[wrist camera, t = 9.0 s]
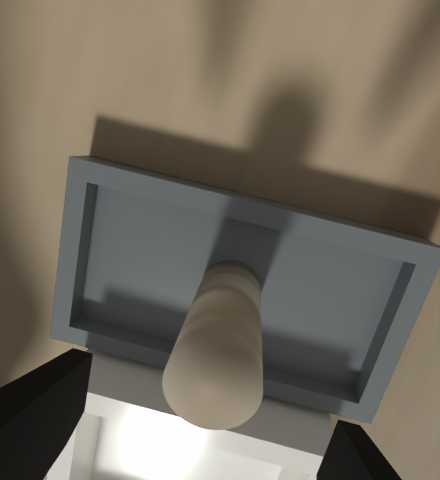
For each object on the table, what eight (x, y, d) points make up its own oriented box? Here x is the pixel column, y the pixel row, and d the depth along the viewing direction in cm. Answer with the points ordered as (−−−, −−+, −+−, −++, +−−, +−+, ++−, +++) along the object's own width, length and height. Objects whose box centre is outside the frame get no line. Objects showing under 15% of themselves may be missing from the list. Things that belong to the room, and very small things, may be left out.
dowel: (195, 307, 19) (154, 415, 11) (208, 253, 18) (172, 330, 11) (251, 322, 19) (248, 441, 11) (267, 269, 18) (275, 357, 10)
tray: (68, 320, 21) (49, 337, 19) (89, 155, 18) (69, 156, 16) (360, 398, 20) (371, 424, 18) (425, 238, 18) (446, 249, 16)
